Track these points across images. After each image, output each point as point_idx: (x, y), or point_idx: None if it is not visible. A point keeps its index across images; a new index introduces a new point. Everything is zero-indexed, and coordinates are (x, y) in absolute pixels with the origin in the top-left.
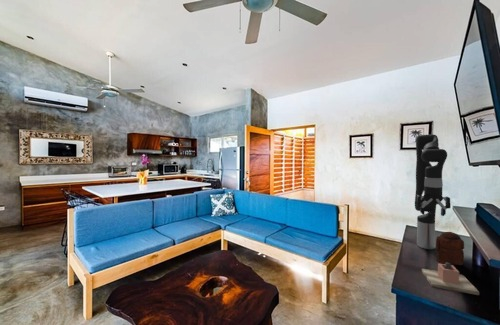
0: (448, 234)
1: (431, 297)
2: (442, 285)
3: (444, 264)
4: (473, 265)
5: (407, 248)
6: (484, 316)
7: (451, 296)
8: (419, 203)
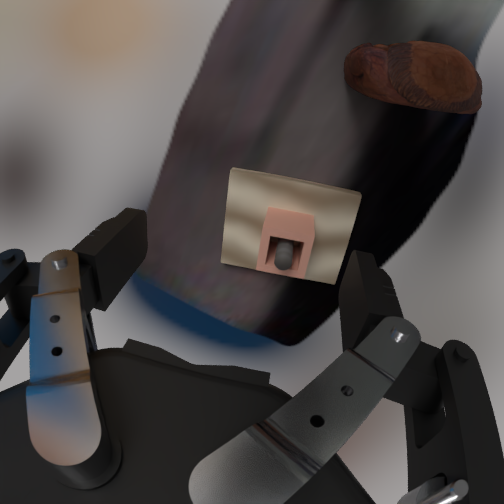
0: (424, 93)
1: (202, 300)
2: (248, 267)
3: (284, 233)
4: None
5: None
6: (282, 341)
7: (254, 291)
8: (15, 343)
